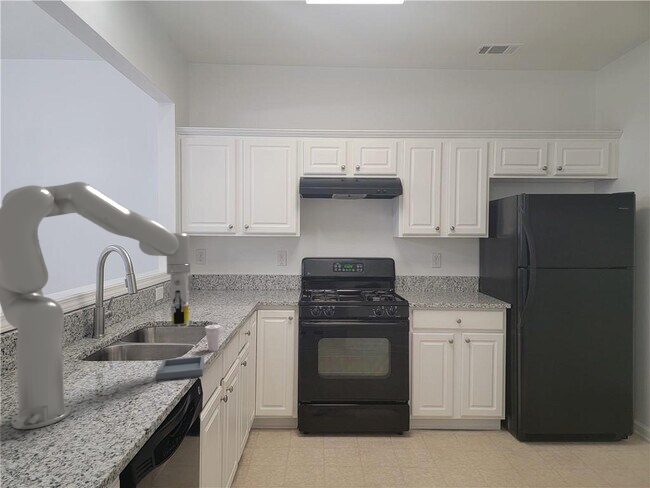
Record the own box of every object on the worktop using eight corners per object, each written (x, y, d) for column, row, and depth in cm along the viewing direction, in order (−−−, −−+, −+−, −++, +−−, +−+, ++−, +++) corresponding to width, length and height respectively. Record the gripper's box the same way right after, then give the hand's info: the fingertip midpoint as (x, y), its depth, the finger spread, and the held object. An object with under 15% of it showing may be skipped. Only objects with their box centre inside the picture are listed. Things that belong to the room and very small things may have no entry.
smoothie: (209, 353, 152) (208, 318, 152) (202, 349, 157) (201, 315, 156) (224, 350, 156) (223, 316, 156) (217, 346, 161) (216, 313, 161)
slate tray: (202, 376, 128) (202, 369, 128) (157, 381, 124) (156, 373, 124) (204, 362, 141) (204, 356, 141) (163, 366, 138) (163, 359, 138)
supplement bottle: (190, 324, 135) (190, 295, 135) (186, 328, 129) (185, 298, 129) (174, 325, 134) (173, 296, 134) (169, 329, 129) (168, 298, 129)
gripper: (188, 271, 124) (189, 326, 125) (192, 266, 141) (193, 315, 141) (163, 272, 122) (164, 328, 123) (170, 267, 139) (171, 317, 139)
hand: (180, 321), depth 132 cm, fingers closed on supplement bottle, 5 cm apart
